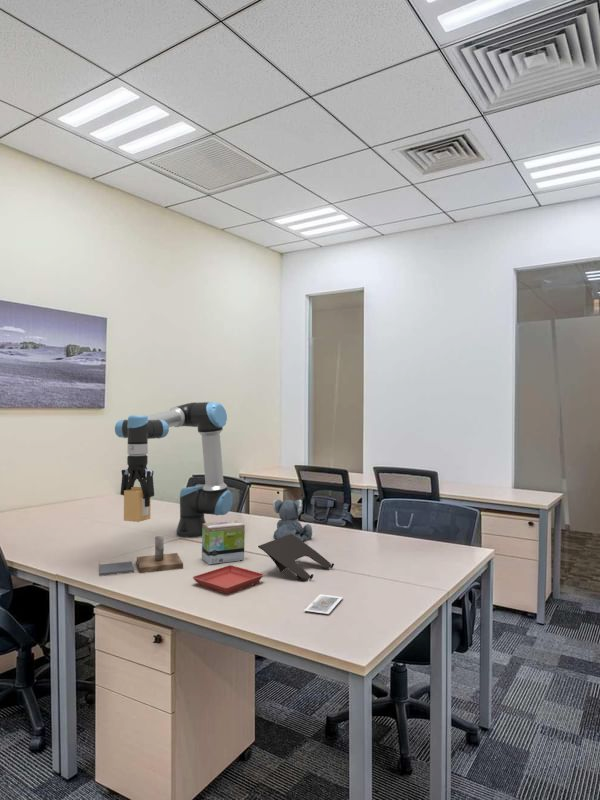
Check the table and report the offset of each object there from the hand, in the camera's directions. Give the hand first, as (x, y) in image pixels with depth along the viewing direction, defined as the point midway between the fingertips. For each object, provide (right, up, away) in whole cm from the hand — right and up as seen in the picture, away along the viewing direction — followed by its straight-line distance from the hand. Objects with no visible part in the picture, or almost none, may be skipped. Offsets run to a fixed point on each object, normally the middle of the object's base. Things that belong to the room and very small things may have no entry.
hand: (137, 514), depth 209 cm
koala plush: (+58, -21, +42) cm, 75 cm away
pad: (-7, -21, -3) cm, 22 cm away
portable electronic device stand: (+63, -21, -5) cm, 66 cm away
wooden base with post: (+8, -21, +3) cm, 22 cm away
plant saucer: (+38, -21, -20) cm, 48 cm away
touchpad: (+70, -20, -41) cm, 84 cm away
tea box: (+32, -21, +10) cm, 39 cm away
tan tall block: (0, -2, 0) cm, 2 cm away
